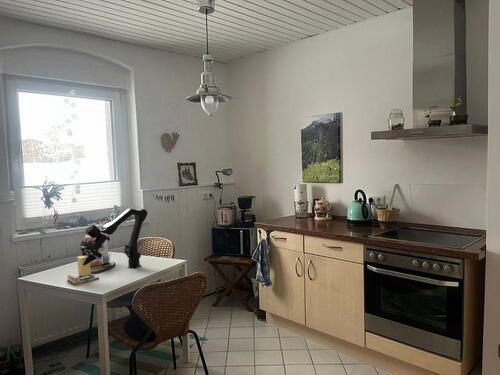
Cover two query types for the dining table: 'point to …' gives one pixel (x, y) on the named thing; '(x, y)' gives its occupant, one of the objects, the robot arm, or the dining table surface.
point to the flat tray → (81, 279)
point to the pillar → (83, 269)
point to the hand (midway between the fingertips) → (81, 264)
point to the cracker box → (102, 250)
